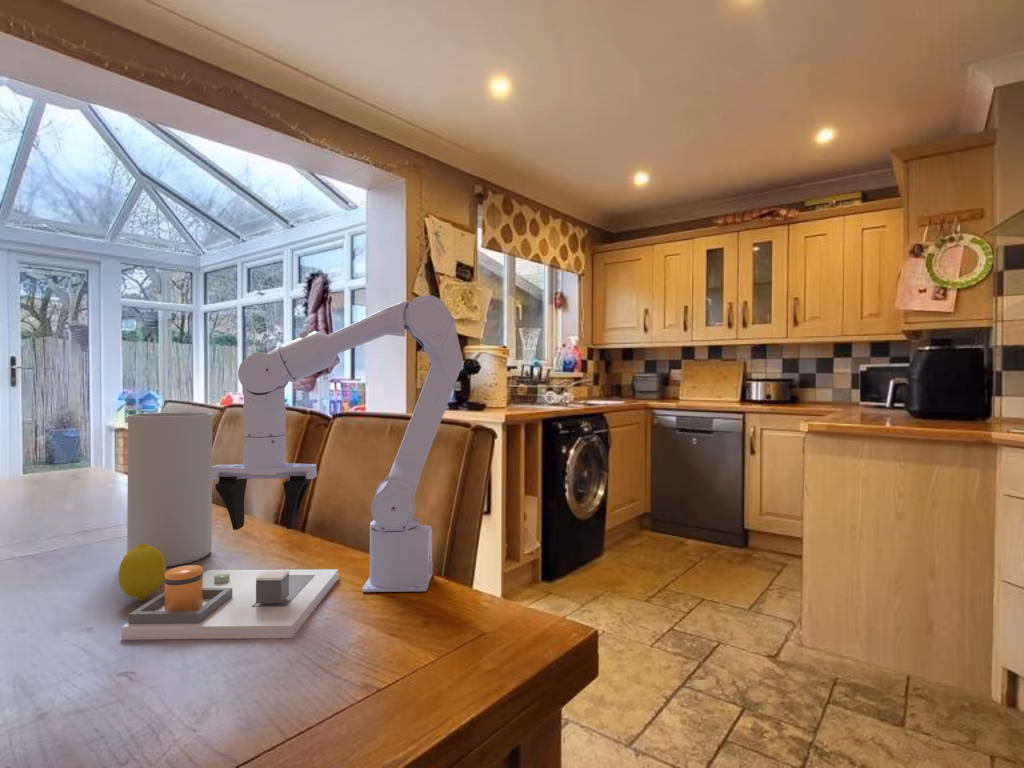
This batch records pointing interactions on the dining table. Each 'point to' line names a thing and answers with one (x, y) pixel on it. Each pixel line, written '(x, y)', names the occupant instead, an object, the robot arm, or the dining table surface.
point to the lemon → (142, 571)
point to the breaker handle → (272, 587)
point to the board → (234, 608)
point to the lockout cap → (184, 588)
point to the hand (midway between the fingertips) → (264, 527)
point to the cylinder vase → (170, 484)
